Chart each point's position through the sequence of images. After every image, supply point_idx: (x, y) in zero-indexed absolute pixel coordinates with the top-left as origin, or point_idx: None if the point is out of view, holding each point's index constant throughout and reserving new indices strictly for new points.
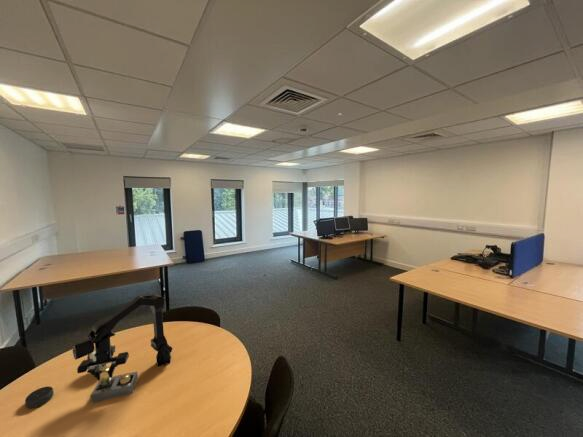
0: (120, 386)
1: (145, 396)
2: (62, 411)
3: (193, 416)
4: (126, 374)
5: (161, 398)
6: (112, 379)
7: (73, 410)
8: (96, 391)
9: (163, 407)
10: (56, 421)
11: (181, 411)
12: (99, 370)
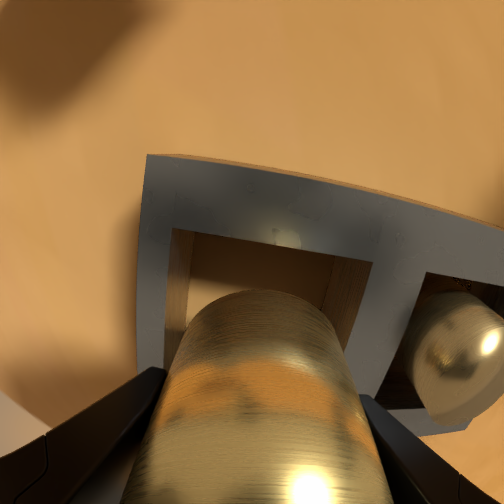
0: (401, 421)
1: (470, 424)
2: (15, 324)
3: (495, 494)
4: (501, 351)
5: (498, 442)
6: (336, 253)
7: (70, 358)
8: None
9: (477, 475)
10: (33, 385)
11: (492, 485)
12: (81, 493)
